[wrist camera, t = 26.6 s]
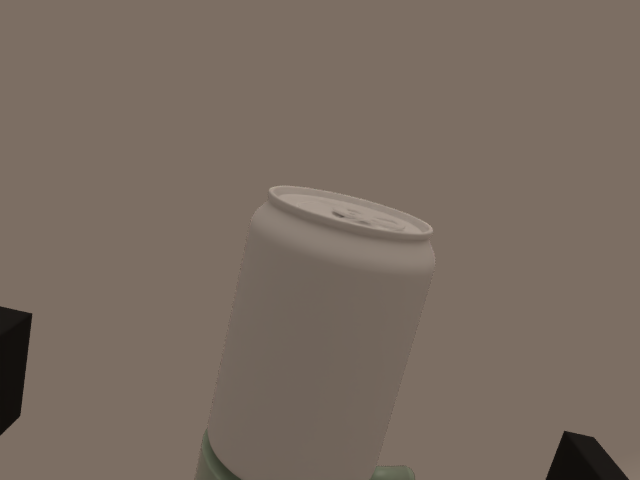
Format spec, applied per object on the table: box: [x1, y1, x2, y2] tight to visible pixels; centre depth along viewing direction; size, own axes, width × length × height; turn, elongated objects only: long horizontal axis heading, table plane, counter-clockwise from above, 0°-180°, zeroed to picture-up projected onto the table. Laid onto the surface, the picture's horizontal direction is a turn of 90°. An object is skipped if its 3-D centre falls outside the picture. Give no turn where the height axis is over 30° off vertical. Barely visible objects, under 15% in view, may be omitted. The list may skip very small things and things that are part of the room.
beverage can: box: [207, 186, 435, 480], centre depth 24 cm, size 8×8×12 cm
